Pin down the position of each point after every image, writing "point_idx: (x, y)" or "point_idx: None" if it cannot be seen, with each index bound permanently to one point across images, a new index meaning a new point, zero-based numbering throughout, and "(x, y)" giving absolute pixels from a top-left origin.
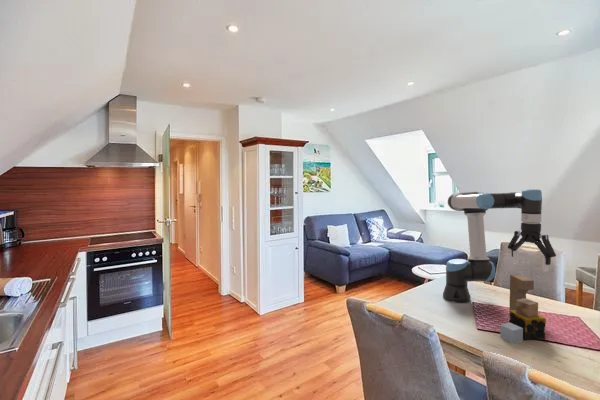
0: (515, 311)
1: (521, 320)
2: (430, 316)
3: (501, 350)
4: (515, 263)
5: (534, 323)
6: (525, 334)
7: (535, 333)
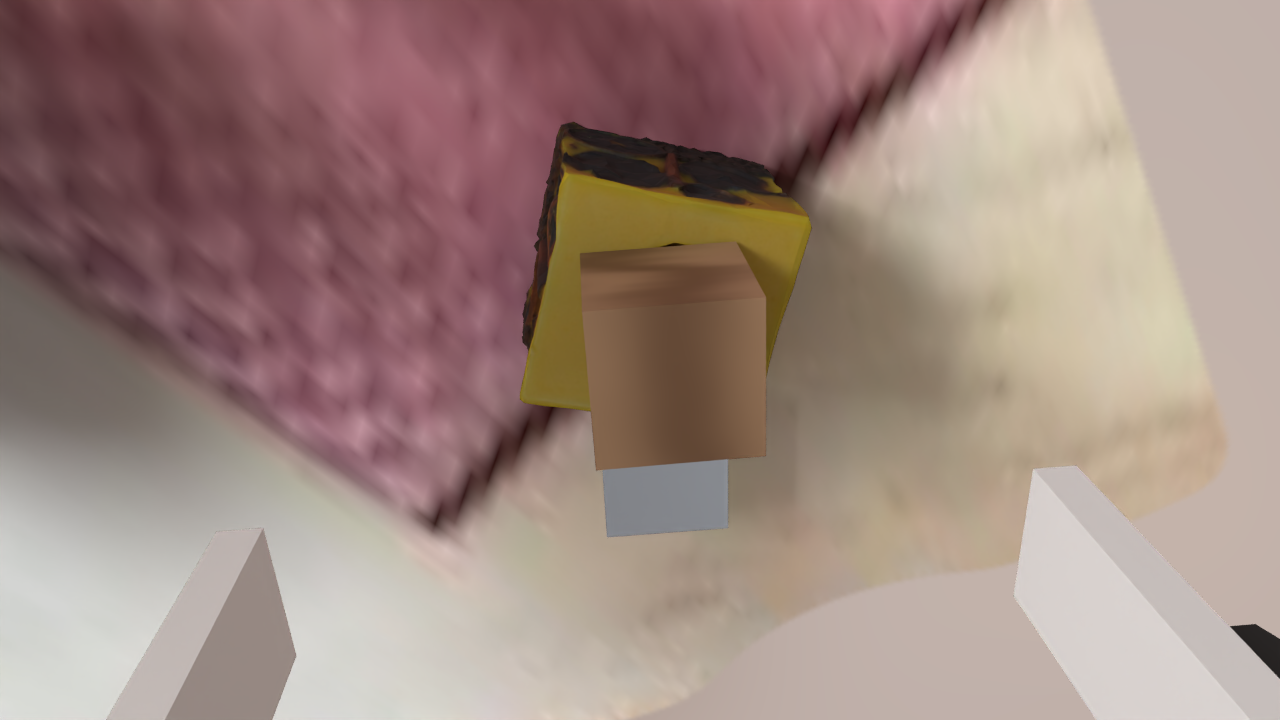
0: (565, 367)
1: None
2: None
3: (746, 602)
4: (279, 635)
5: None
6: None
7: None
